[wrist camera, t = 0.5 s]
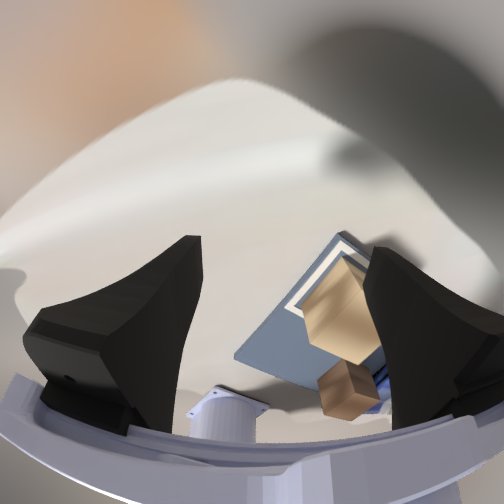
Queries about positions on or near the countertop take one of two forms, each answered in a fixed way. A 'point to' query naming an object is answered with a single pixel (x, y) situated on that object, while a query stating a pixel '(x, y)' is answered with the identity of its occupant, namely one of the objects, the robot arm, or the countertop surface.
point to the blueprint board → (302, 327)
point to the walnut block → (347, 390)
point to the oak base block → (341, 314)
